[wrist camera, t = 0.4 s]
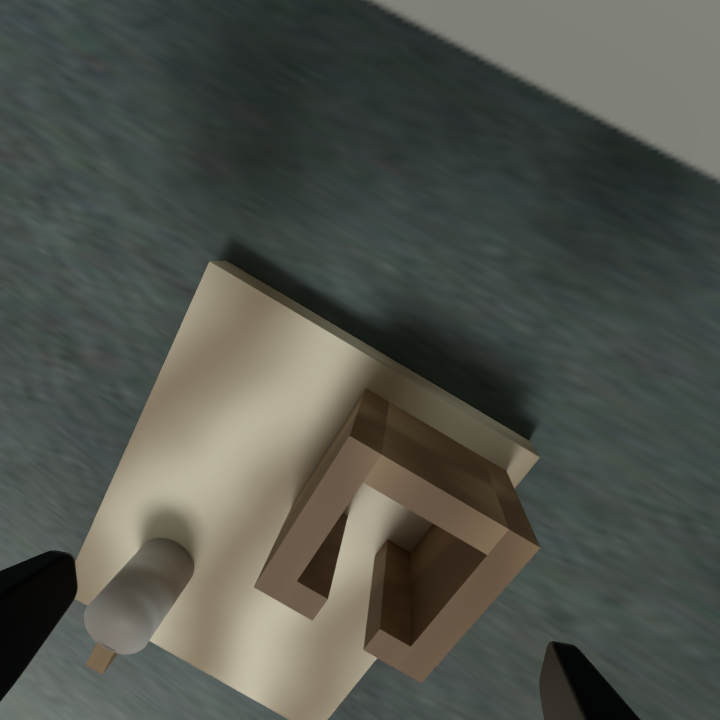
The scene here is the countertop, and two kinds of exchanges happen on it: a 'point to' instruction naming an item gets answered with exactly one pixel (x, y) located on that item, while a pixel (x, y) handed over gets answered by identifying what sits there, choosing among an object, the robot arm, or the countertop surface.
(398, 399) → the plate
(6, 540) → the countertop surface
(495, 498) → the slotted channel bracket
